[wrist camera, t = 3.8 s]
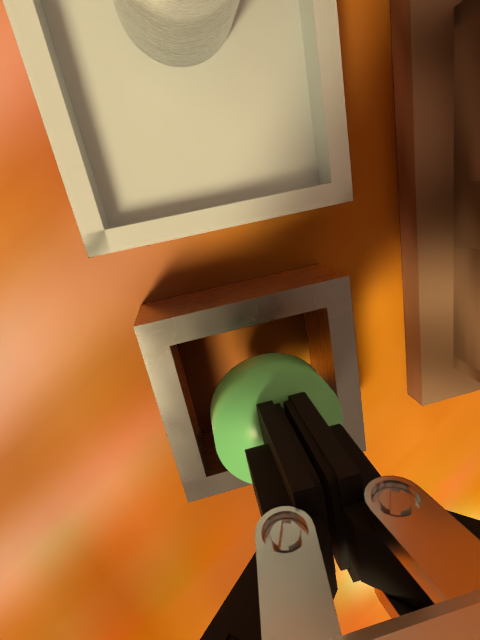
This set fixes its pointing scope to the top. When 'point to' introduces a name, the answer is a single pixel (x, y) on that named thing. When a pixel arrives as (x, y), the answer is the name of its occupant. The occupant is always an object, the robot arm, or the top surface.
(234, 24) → the tray
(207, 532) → the top surface
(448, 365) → the brown compartment tray
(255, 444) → the button
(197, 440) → the open wooden box
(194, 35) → the cylinder
